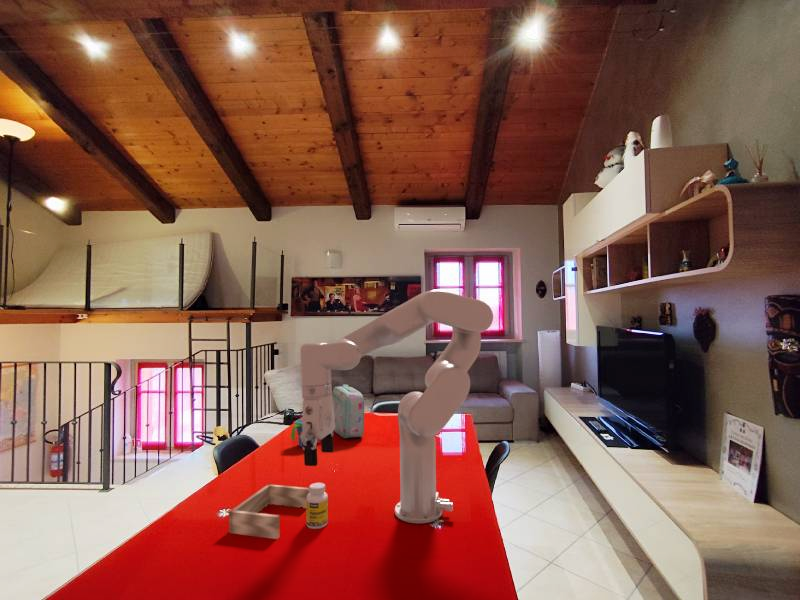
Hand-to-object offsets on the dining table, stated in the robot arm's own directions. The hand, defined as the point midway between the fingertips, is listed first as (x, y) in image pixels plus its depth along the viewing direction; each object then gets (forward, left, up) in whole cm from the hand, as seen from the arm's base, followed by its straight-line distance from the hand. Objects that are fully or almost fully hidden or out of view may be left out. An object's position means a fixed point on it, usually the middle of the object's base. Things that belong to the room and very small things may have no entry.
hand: (319, 458), depth 103 cm
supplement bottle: (+1, 0, -17) cm, 16 cm away
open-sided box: (+13, 0, -16) cm, 21 cm away
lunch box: (+24, -79, -17) cm, 84 cm away
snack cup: (+33, -59, -17) cm, 70 cm away
